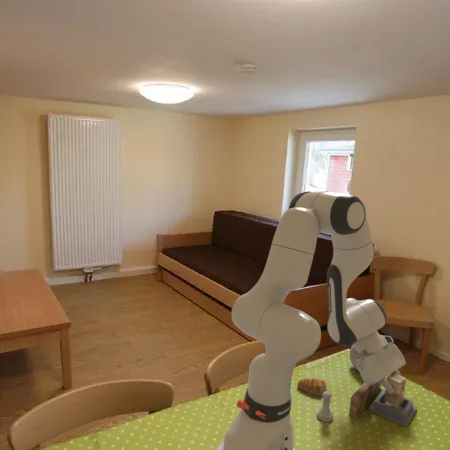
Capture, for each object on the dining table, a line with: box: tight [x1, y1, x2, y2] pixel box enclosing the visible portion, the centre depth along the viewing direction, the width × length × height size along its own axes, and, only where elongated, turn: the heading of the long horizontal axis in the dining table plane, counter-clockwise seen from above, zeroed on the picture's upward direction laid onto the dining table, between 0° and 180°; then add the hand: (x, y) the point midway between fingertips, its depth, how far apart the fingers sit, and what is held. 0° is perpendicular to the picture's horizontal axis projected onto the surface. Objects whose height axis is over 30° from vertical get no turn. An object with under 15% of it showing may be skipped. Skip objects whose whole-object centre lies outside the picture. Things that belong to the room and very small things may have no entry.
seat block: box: [368, 388, 418, 428], centre depth 116 cm, size 11×11×3 cm
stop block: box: [384, 373, 407, 407], centre depth 116 cm, size 4×4×8 cm
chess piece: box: [316, 391, 334, 423], centre depth 111 cm, size 5×5×8 cm
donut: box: [349, 344, 359, 372], centre depth 139 cm, size 10×4×10 cm, turn 16°
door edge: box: [348, 381, 382, 419], centre depth 121 cm, size 22×2×6 cm, turn 139°
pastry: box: [297, 377, 327, 397], centre depth 126 cm, size 9×7×4 cm
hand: (397, 389), depth 115 cm, fingers closed on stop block, 4 cm apart
